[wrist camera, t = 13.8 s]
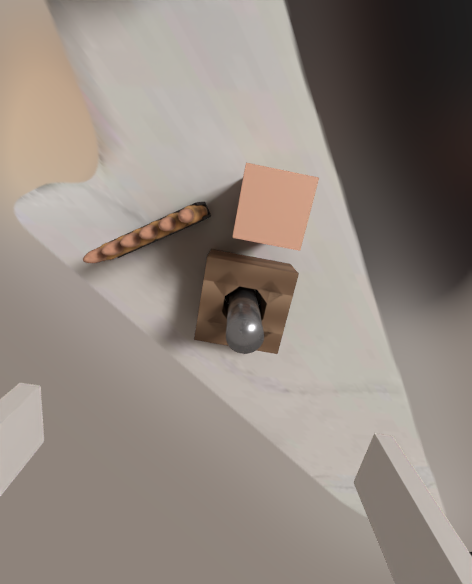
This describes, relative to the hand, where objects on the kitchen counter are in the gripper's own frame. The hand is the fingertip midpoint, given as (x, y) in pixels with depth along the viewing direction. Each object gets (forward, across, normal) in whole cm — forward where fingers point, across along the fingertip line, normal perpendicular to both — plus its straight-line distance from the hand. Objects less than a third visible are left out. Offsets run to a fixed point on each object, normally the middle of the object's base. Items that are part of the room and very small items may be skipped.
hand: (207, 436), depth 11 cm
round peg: (+25, +2, -2) cm, 25 cm away
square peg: (+26, +3, +9) cm, 27 cm away
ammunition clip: (+26, -8, +4) cm, 27 cm away
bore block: (+25, +2, -2) cm, 25 cm away
